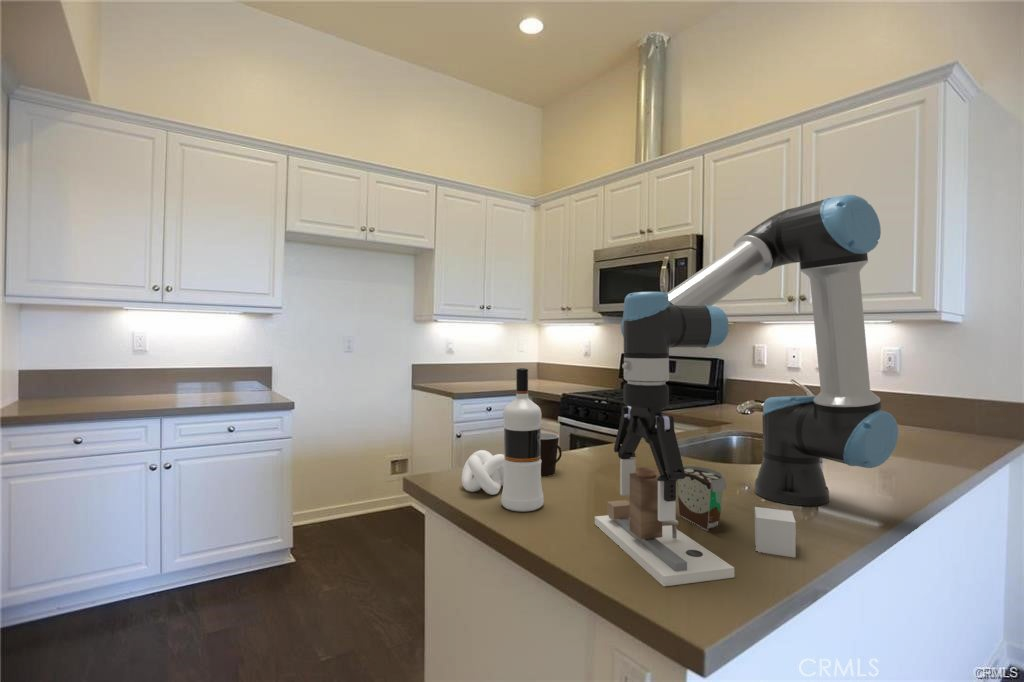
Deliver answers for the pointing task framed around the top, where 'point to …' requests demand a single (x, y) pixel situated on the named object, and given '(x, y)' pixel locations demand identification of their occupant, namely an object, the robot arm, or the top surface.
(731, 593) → the top surface
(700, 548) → the board
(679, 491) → the food container
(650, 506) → the sliding handle
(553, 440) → the coffee mug
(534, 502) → the vodka
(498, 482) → the white decorative knot
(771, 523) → the white cube
